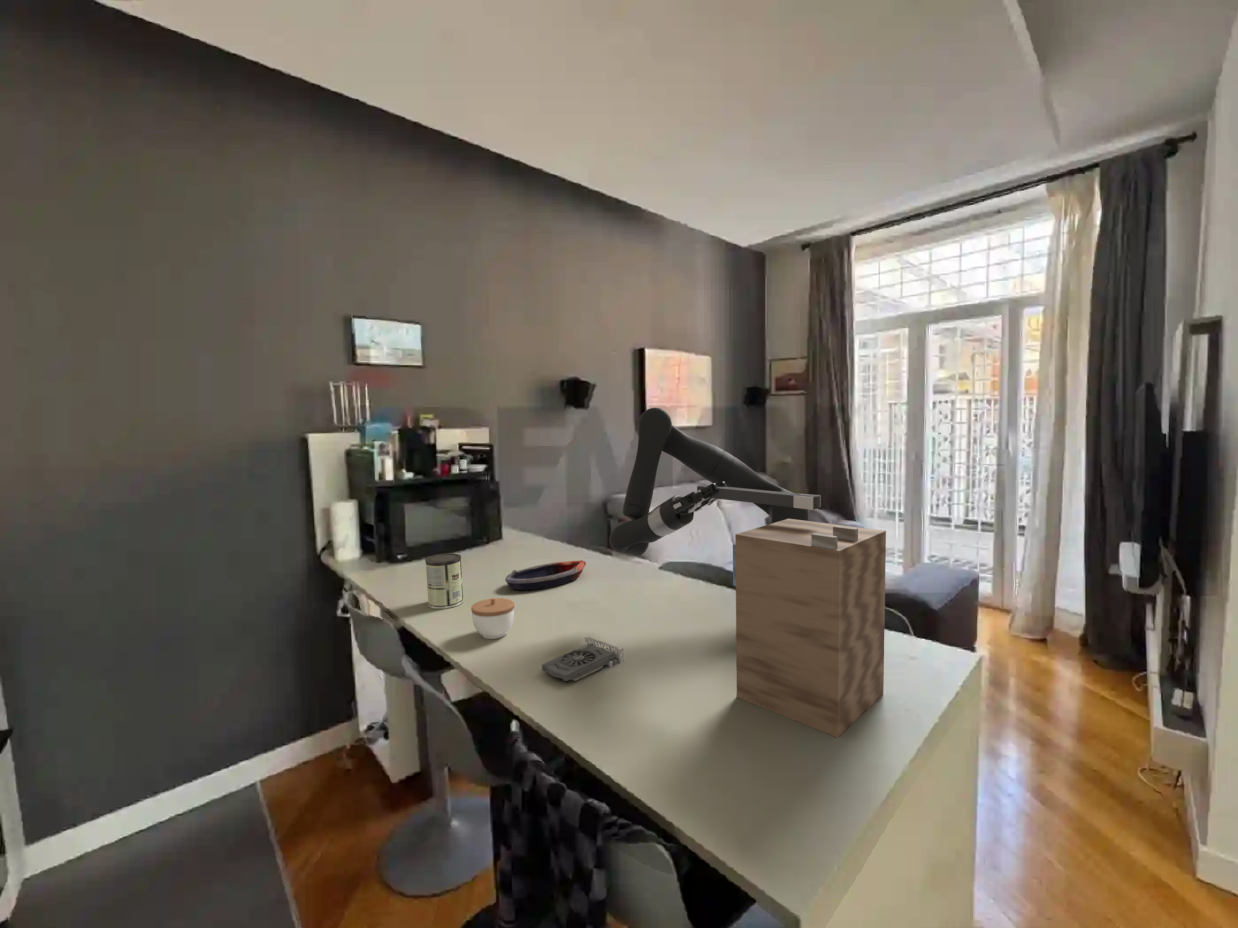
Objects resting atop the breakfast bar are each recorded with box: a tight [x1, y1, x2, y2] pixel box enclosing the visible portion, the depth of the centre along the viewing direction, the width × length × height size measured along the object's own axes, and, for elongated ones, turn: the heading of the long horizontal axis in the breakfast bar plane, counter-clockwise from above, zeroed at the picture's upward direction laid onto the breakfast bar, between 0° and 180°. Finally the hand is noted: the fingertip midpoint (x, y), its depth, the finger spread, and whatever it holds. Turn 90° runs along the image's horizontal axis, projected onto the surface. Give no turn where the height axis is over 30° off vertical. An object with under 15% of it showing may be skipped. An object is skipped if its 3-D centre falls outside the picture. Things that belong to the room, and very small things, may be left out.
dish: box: [504, 560, 587, 591], centre depth 186 cm, size 16×31×5 cm, turn 127°
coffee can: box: [424, 552, 464, 610], centre depth 166 cm, size 10×10×14 cm
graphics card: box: [541, 636, 625, 682], centre depth 123 cm, size 17×4×12 cm
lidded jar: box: [470, 597, 515, 640], centre depth 142 cm, size 11×11×9 cm
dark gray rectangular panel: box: [696, 484, 822, 511], centre depth 118 cm, size 3×28×2 cm, turn 45°
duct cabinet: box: [732, 519, 887, 739], centre depth 106 cm, size 20×21×34 cm
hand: (720, 486), depth 124 cm, fingers closed on dark gray rectangular panel, 3 cm apart
